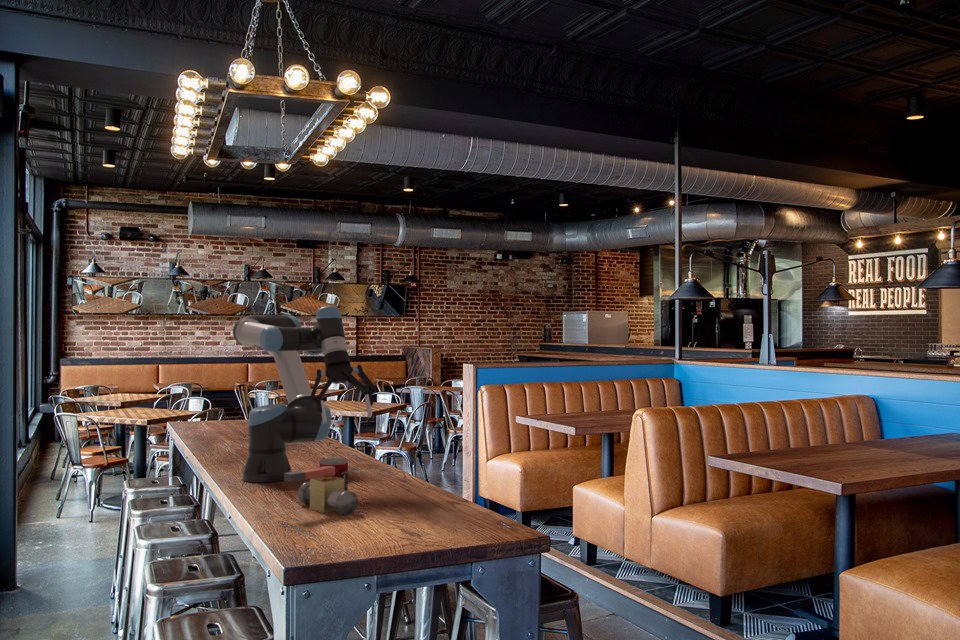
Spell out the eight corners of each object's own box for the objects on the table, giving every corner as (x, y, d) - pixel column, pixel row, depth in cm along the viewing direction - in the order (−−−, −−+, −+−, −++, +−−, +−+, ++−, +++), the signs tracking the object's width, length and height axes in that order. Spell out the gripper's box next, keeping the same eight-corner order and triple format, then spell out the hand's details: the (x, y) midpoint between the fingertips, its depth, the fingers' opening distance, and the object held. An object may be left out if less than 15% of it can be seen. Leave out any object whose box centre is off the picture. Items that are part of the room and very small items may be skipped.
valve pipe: (297, 505, 200) (297, 473, 201) (316, 501, 205) (317, 470, 205) (338, 517, 188) (338, 482, 188) (358, 512, 193) (358, 479, 193)
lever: (329, 473, 199) (329, 465, 200) (337, 474, 197) (338, 467, 197) (283, 480, 189) (283, 472, 189) (291, 482, 186) (291, 474, 186)
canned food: (334, 504, 202) (334, 463, 203) (313, 500, 207) (313, 461, 207) (353, 498, 209) (353, 459, 209) (332, 495, 213) (332, 457, 213)
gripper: (295, 353, 220) (307, 421, 212) (377, 344, 229) (391, 409, 222) (293, 363, 226) (304, 429, 218) (373, 354, 236) (386, 417, 228)
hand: (348, 419), depth 220 cm, fingers open, 13 cm apart
